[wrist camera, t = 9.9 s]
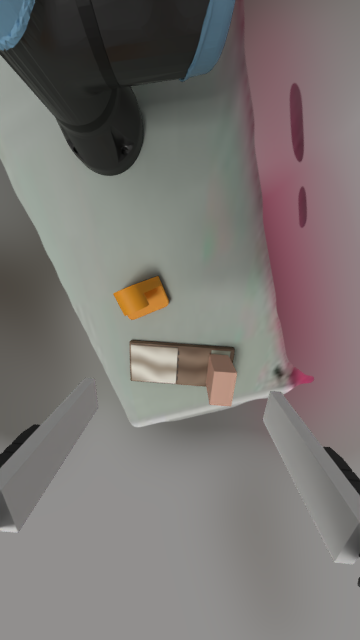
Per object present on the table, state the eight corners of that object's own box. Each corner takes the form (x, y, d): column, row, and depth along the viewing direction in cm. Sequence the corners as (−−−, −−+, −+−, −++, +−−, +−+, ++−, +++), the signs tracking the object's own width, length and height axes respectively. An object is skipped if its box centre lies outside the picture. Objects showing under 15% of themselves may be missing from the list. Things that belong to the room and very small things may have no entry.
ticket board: (131, 340, 46) (128, 343, 44) (233, 347, 45) (235, 350, 43) (132, 377, 49) (130, 381, 47) (227, 384, 49) (228, 389, 47)
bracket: (133, 318, 44) (114, 334, 33) (120, 292, 42) (96, 301, 31) (170, 302, 42) (164, 314, 31) (158, 275, 41) (147, 278, 29)
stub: (209, 353, 44) (214, 371, 36) (228, 355, 44) (237, 373, 36) (205, 382, 47) (209, 404, 39) (223, 384, 46) (231, 406, 39)
